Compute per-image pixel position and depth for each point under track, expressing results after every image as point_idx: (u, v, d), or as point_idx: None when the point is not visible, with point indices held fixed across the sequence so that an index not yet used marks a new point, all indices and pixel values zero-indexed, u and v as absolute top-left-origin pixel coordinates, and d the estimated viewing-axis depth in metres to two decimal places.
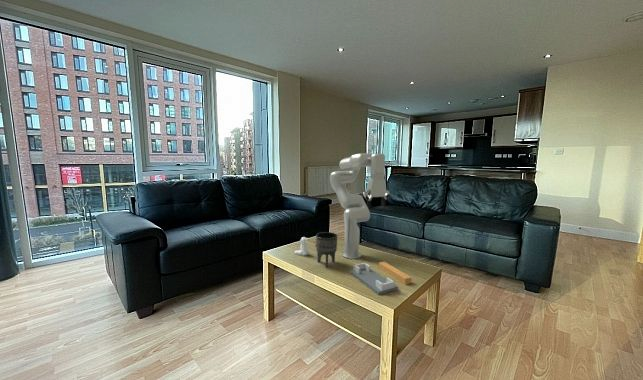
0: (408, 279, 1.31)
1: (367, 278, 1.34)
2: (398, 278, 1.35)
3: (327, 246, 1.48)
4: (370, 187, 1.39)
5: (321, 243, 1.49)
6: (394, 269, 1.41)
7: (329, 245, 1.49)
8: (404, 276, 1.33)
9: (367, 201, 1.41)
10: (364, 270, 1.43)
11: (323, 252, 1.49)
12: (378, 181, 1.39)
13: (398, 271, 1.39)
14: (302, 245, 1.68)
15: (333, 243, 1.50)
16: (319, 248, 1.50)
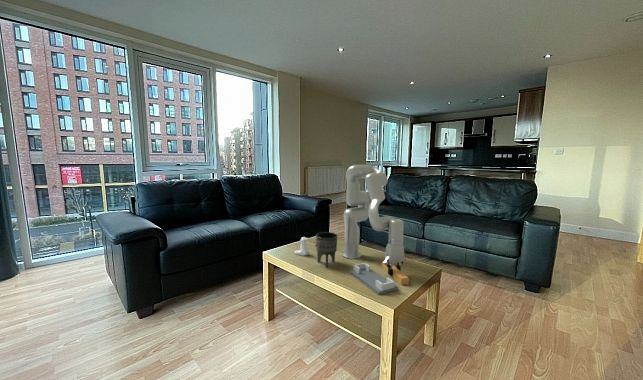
0: (404, 279, 1.31)
1: (367, 278, 1.34)
2: (396, 278, 1.35)
3: (327, 246, 1.48)
4: (388, 254, 1.37)
5: (321, 243, 1.49)
6: (394, 269, 1.41)
7: (329, 245, 1.49)
8: (401, 276, 1.32)
9: (388, 269, 1.40)
10: (364, 270, 1.43)
11: (323, 252, 1.49)
12: (397, 248, 1.37)
13: (398, 271, 1.38)
14: (302, 245, 1.68)
15: (333, 243, 1.50)
16: (319, 248, 1.50)
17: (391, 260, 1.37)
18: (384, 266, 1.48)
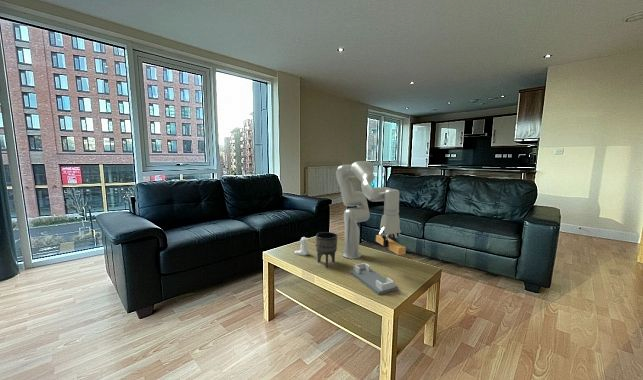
0: (402, 249, 1.27)
1: (367, 278, 1.34)
2: (392, 248, 1.31)
3: (327, 246, 1.48)
4: (384, 224, 1.33)
5: (321, 243, 1.49)
6: (390, 240, 1.37)
7: (329, 245, 1.48)
8: (398, 246, 1.29)
9: (384, 240, 1.36)
10: (364, 270, 1.43)
11: (323, 252, 1.49)
12: (393, 218, 1.33)
13: (394, 242, 1.35)
14: (302, 245, 1.68)
15: (333, 243, 1.49)
16: (319, 248, 1.50)
17: (386, 231, 1.33)
18: (378, 239, 1.44)
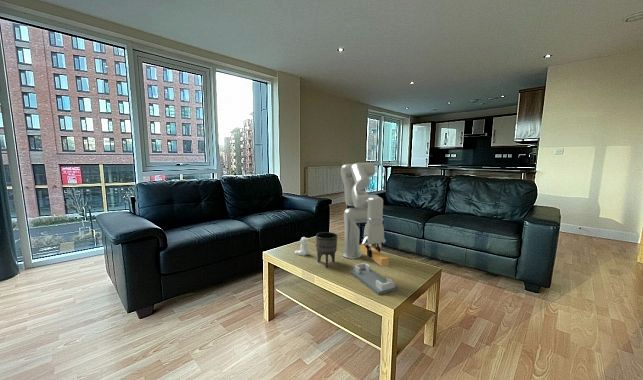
0: (385, 260, 1.22)
1: (367, 278, 1.34)
2: (376, 259, 1.26)
3: (327, 246, 1.48)
4: (367, 234, 1.28)
5: (321, 243, 1.49)
6: (374, 250, 1.32)
7: (329, 245, 1.48)
8: (381, 257, 1.23)
9: (367, 250, 1.31)
10: (364, 270, 1.43)
11: (323, 252, 1.49)
12: (376, 227, 1.28)
13: (378, 252, 1.30)
14: (302, 245, 1.68)
15: (333, 243, 1.49)
16: (319, 248, 1.50)
17: (369, 240, 1.28)
18: (363, 249, 1.39)
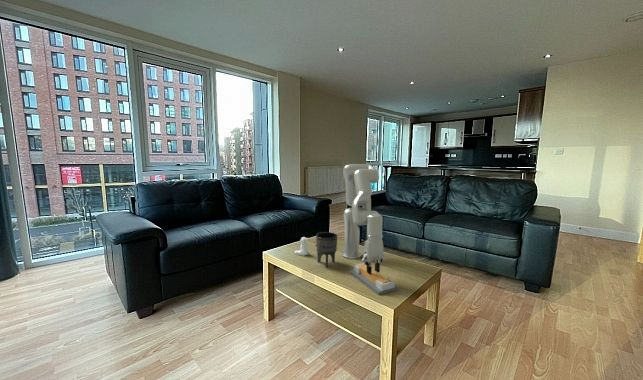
0: None
1: None
2: None
3: (327, 246, 1.48)
4: (366, 251, 1.29)
5: (321, 243, 1.49)
6: (372, 272, 1.33)
7: (329, 245, 1.49)
8: (382, 280, 1.25)
9: (367, 267, 1.32)
10: None
11: (323, 252, 1.49)
12: (375, 244, 1.29)
13: (377, 274, 1.31)
14: (302, 245, 1.68)
15: (333, 243, 1.50)
16: (319, 248, 1.50)
17: (369, 257, 1.29)
18: (360, 270, 1.39)
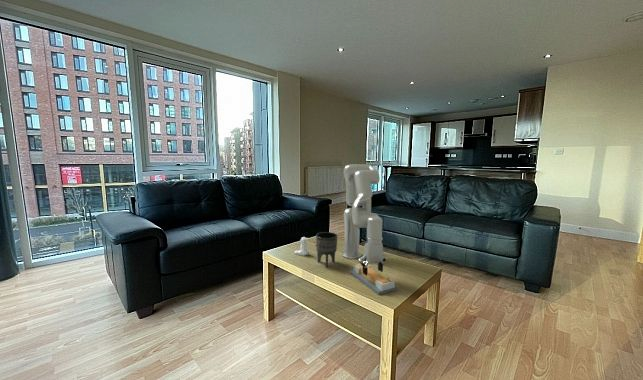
0: None
1: None
2: None
3: (327, 246, 1.48)
4: (366, 253, 1.30)
5: (321, 243, 1.49)
6: (372, 272, 1.33)
7: (329, 245, 1.49)
8: (382, 280, 1.25)
9: (363, 268, 1.31)
10: None
11: (323, 252, 1.49)
12: (375, 247, 1.30)
13: (377, 274, 1.31)
14: (302, 245, 1.68)
15: (333, 243, 1.50)
16: (319, 248, 1.50)
17: (369, 260, 1.29)
18: (360, 270, 1.39)
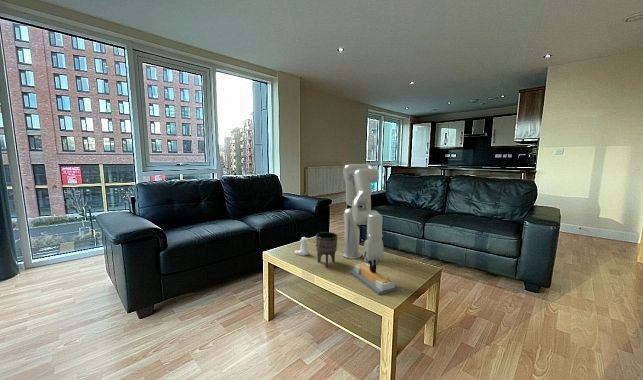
0: None
1: None
2: None
3: (327, 246, 1.48)
4: (366, 250, 1.29)
5: (321, 243, 1.49)
6: None
7: (329, 245, 1.49)
8: (382, 280, 1.25)
9: (370, 265, 1.33)
10: None
11: (323, 252, 1.49)
12: (375, 244, 1.29)
13: (377, 274, 1.31)
14: (302, 245, 1.68)
15: (333, 243, 1.50)
16: (319, 248, 1.50)
17: (369, 257, 1.29)
18: (360, 270, 1.39)
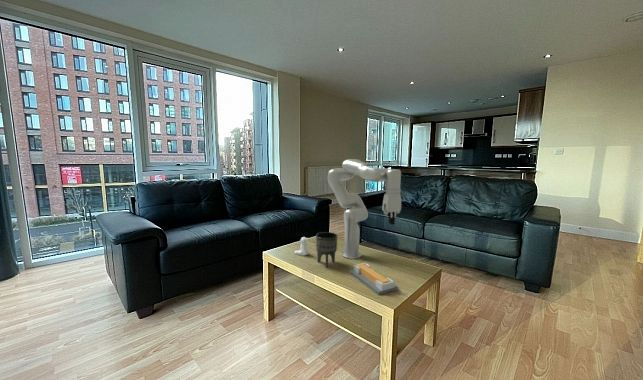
0: None
1: None
2: None
3: (327, 246, 1.48)
4: (386, 202, 1.40)
5: (321, 243, 1.49)
6: (372, 272, 1.33)
7: (329, 245, 1.49)
8: (382, 280, 1.25)
9: (389, 218, 1.44)
10: None
11: (323, 252, 1.49)
12: (394, 196, 1.40)
13: (377, 274, 1.31)
14: (302, 245, 1.68)
15: (333, 243, 1.50)
16: (319, 248, 1.50)
17: (388, 208, 1.40)
18: (360, 270, 1.39)
